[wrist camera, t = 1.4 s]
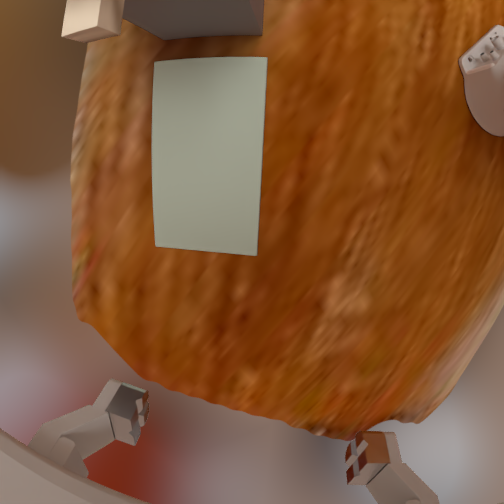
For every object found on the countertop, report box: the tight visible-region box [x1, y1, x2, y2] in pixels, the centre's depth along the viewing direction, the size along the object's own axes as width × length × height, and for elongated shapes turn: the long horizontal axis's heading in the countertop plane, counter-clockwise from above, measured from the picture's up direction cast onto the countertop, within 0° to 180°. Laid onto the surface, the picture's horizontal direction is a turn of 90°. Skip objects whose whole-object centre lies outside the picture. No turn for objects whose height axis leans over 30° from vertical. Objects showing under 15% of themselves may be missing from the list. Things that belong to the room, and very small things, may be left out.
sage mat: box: [152, 57, 268, 256], centre depth 48 cm, size 32×18×1 cm, turn 177°
